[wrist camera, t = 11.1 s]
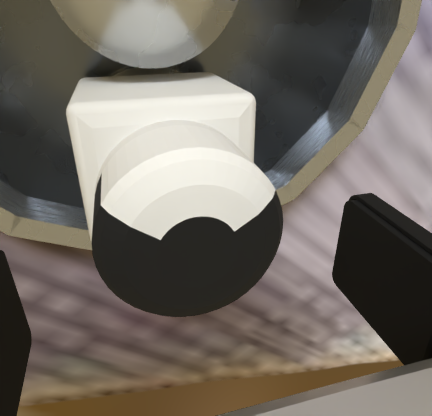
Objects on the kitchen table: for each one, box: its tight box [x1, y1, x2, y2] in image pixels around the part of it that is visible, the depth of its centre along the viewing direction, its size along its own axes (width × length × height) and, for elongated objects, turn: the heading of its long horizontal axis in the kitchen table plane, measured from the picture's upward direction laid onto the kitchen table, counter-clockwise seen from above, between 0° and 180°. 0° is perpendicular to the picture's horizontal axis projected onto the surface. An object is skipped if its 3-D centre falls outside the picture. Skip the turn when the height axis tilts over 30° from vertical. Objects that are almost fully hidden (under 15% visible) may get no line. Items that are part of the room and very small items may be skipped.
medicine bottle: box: [66, 72, 283, 317], centre depth 16 cm, size 7×7×12 cm
